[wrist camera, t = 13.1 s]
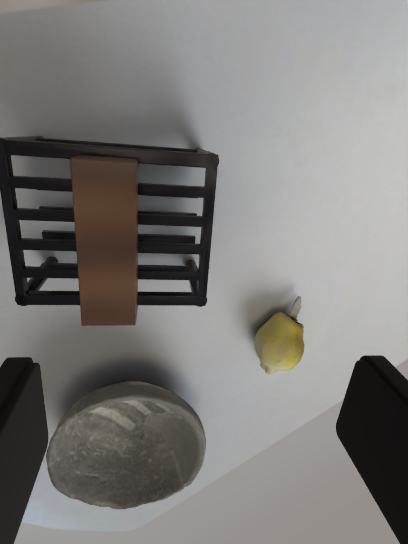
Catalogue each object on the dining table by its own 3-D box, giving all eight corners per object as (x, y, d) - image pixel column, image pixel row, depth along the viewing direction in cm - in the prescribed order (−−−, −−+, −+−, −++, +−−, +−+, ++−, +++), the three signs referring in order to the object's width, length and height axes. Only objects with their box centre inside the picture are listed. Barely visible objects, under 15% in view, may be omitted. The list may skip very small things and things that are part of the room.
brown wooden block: (82, 153, 25) (69, 158, 21) (138, 158, 25) (135, 162, 22) (90, 301, 29) (81, 325, 25) (138, 301, 30) (136, 325, 26)
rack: (33, 135, 32) (-10, 137, 23) (204, 148, 34) (219, 153, 26) (47, 266, 37) (15, 306, 28) (195, 269, 39) (206, 306, 31)
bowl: (225, 399, 47) (238, 448, 40) (142, 473, 50) (141, 531, 43) (121, 329, 41) (114, 372, 33) (35, 419, 44) (11, 477, 37)
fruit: (316, 299, 43) (289, 369, 45) (271, 284, 43) (245, 354, 45) (328, 312, 37) (296, 391, 39) (275, 295, 37) (246, 374, 39)
